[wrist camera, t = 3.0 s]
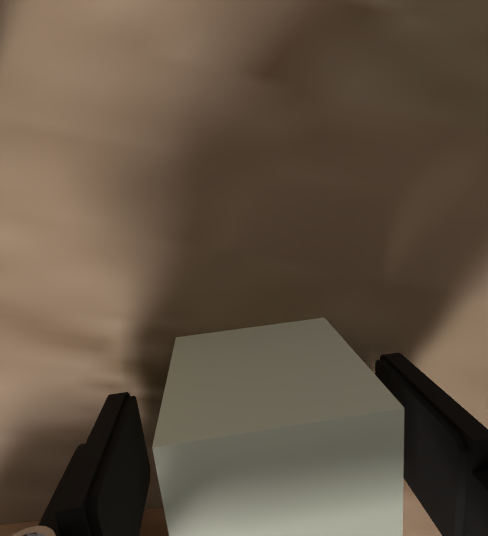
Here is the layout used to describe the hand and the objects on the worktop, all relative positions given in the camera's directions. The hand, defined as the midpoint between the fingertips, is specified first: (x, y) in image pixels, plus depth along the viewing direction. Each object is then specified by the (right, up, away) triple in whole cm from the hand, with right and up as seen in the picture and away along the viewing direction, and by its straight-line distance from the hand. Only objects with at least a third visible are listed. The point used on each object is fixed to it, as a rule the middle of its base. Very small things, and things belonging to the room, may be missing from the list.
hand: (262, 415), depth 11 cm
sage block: (0, 0, +1) cm, 1 cm away
